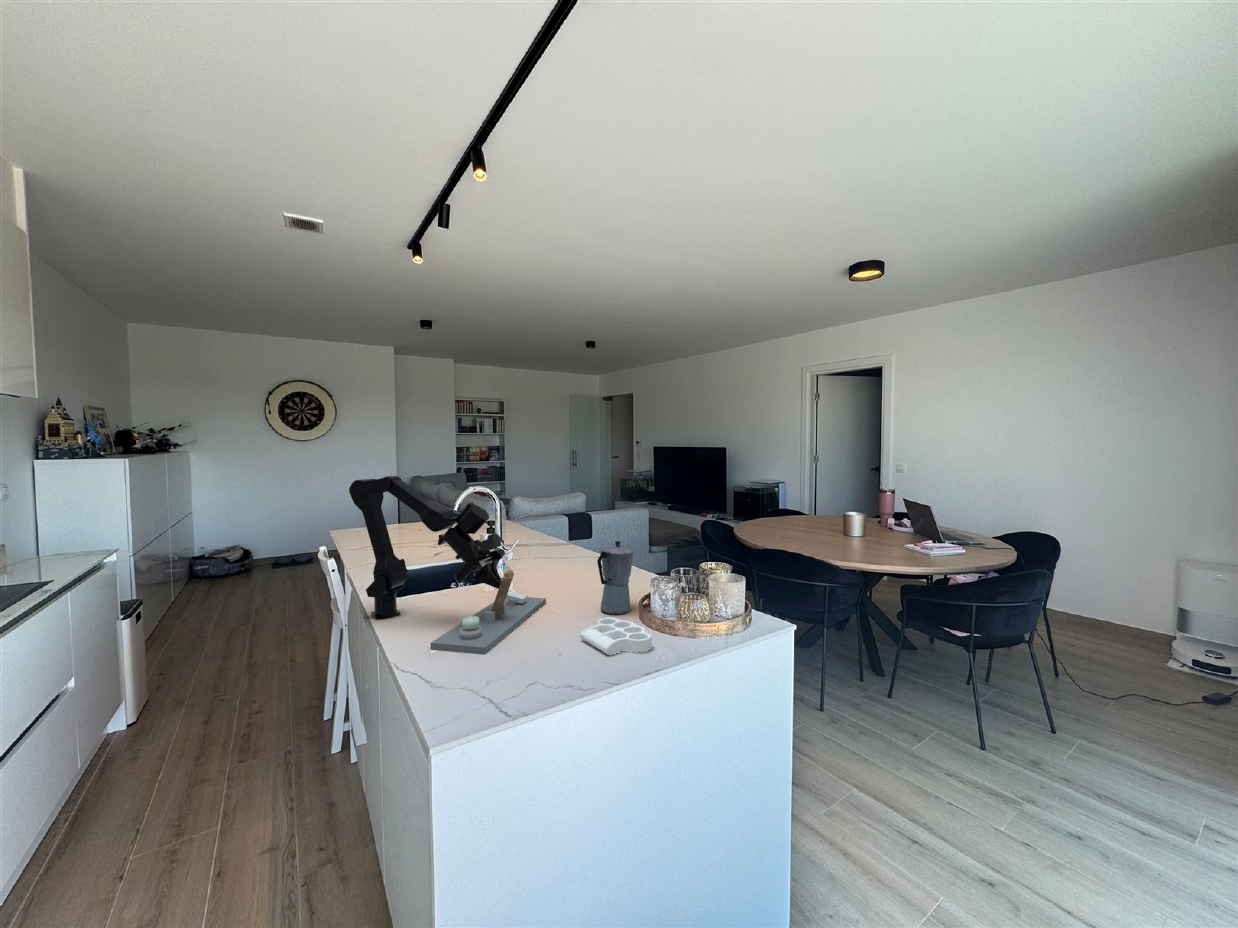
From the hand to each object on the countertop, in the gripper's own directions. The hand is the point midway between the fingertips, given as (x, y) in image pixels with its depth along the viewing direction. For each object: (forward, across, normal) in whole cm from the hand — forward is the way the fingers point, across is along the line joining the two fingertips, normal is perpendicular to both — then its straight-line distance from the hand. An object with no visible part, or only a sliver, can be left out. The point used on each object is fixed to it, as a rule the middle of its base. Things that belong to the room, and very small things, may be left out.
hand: (501, 587), depth 132 cm
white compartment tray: (+31, -6, -16) cm, 35 cm away
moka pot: (+26, +16, -12) cm, 33 cm away
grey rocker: (+3, +13, +6) cm, 15 cm away
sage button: (+3, -13, +6) cm, 15 cm away
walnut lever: (+4, 0, +6) cm, 7 cm away
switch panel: (+6, 0, +8) cm, 10 cm away
